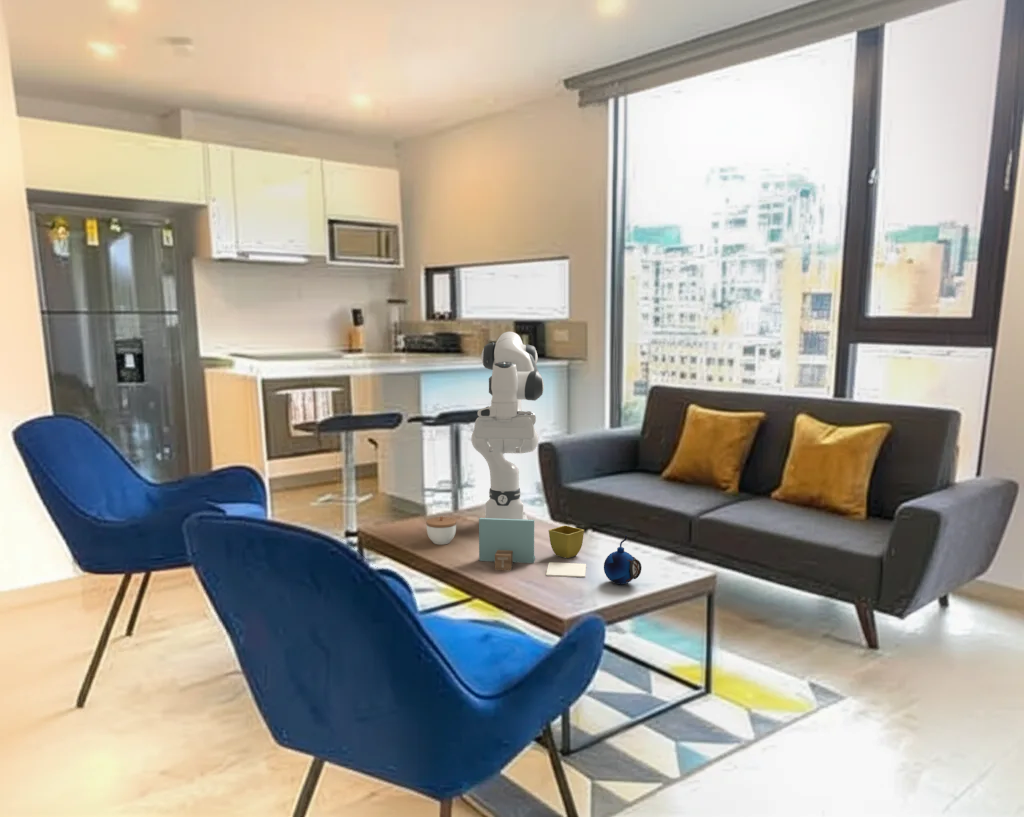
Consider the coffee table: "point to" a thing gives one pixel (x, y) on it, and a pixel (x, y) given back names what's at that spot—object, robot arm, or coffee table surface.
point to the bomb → (621, 566)
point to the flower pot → (566, 541)
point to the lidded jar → (441, 529)
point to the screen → (506, 538)
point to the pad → (566, 569)
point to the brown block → (503, 560)
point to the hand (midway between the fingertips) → (504, 452)
